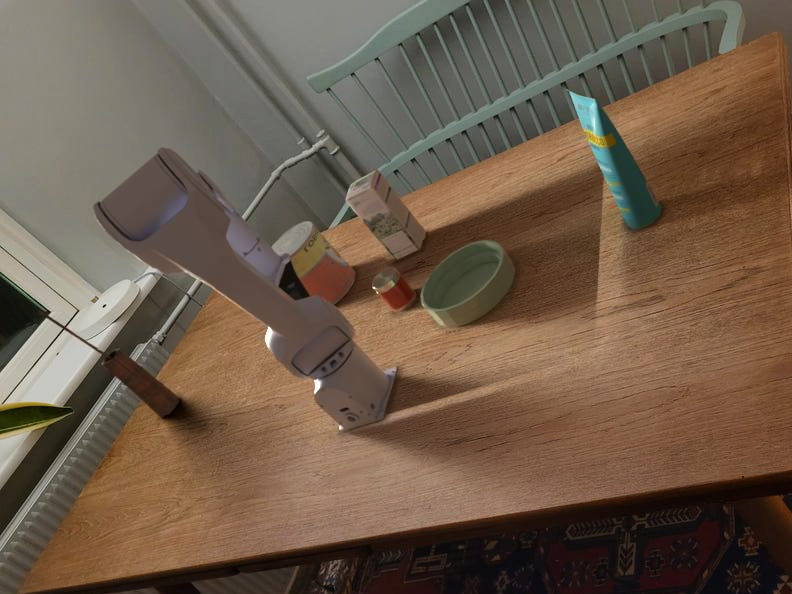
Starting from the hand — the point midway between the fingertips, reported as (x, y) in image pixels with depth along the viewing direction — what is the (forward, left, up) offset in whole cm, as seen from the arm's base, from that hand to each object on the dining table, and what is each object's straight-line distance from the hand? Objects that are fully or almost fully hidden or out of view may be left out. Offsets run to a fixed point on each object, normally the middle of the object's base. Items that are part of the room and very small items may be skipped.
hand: (308, 313), depth 107 cm
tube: (+6, -50, -10) cm, 51 cm away
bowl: (+3, -24, -9) cm, 26 cm away
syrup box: (+23, -7, -10) cm, 26 cm away
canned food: (+20, +11, -10) cm, 25 cm away
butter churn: (+3, +46, -10) cm, 47 cm away
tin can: (+7, -10, -9) cm, 15 cm away
